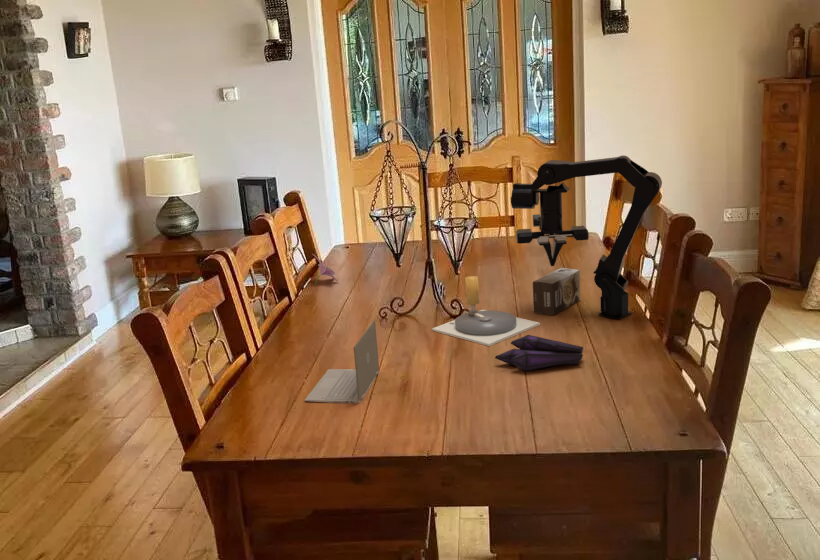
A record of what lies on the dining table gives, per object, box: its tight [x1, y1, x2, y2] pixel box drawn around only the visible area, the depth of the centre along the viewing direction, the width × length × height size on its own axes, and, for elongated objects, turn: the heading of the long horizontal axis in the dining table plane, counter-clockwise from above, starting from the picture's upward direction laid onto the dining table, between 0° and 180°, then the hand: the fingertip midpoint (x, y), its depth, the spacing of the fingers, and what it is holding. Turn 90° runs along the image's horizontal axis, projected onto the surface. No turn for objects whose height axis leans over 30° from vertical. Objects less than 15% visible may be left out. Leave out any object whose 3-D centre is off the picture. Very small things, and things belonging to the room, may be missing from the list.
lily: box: [312, 253, 339, 286], centre depth 270 cm, size 12×12×10 cm
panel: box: [431, 309, 541, 347], centre depth 217 cm, size 20×20×1 cm
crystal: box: [494, 334, 584, 372], centre depth 189 cm, size 7×12×20 cm
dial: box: [454, 275, 517, 335], centre depth 215 cm, size 16×16×12 cm
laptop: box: [304, 319, 380, 404], centre depth 183 cm, size 18×12×13 cm
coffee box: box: [532, 267, 581, 316], centre depth 229 cm, size 9×6×16 cm
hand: (552, 265), depth 223 cm, fingers closed
